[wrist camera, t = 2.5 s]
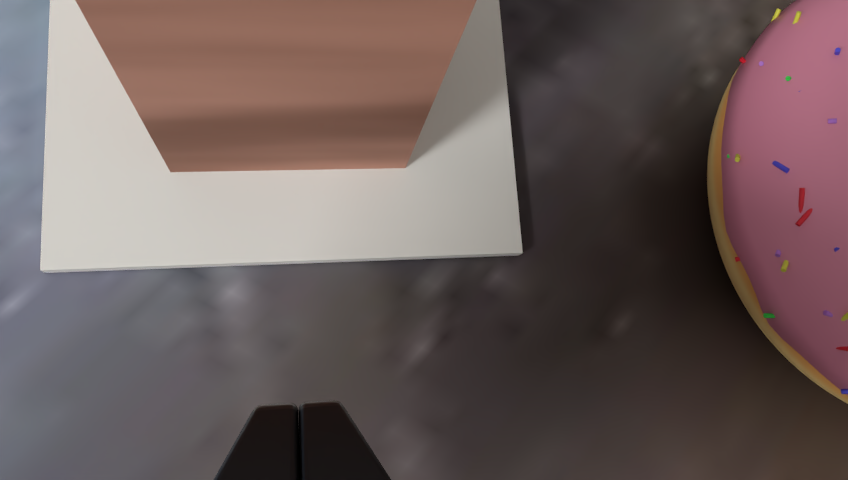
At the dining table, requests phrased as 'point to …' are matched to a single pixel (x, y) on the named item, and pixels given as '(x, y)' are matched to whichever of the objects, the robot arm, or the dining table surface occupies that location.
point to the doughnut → (789, 187)
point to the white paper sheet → (271, 177)
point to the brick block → (280, 77)
